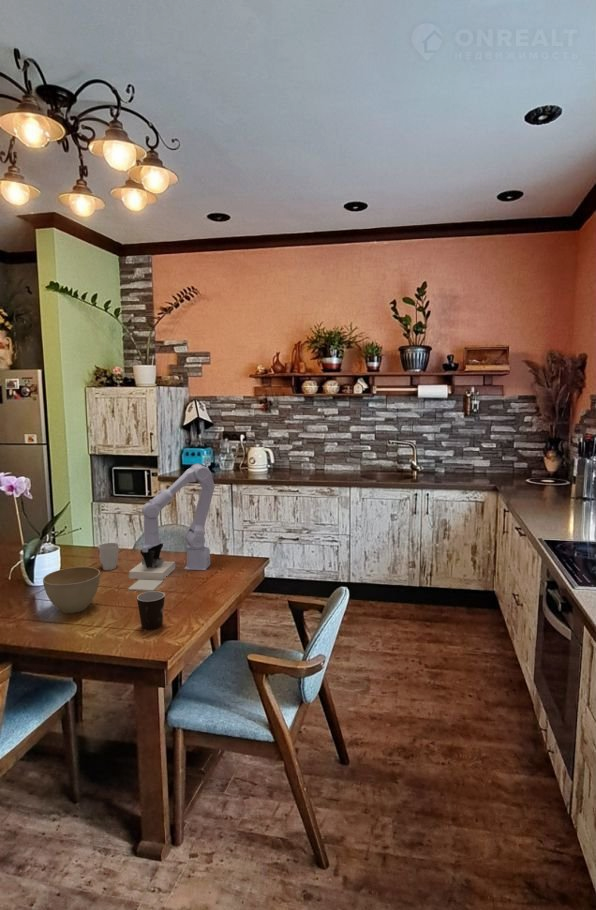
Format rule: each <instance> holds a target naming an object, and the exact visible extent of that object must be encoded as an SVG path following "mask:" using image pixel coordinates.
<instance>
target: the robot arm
mask: <svg viewBox="0 0 596 910" xmlns="http://www.w3.org/2000/svg"><path fill="white" fill-rule="evenodd" d="M195 482H197V483H198V484H199V486H200V487H201V490H200V493H199V497H198V501H197V503H196V504H197V505H196V508H195V512H194V516H193V520H192V523H191V524H190V525H189V528H188V530H187V531H186V532H185V534H184V539H185V542H187V545H186V565H185V567H184V568H183V570H187V571H192V570H193V571H206V570H207V569H208V568H209V567H210V566H211V565H212V564H211V552H210V551H211V549H210V547H207V546H205V542H206V538H205V537H206V536H205V535H206V529H205V526H206V521H207V518H208V514H209V511H210V507H211V502H212V499H213V494H214V491H215V482H214V478H213V473H212V472H211V470H210V469H209V467H207V466H204V465H202V464H200V463H194V464H192V465H191V466H190V467H189V468H188V469H186V470H185V471H184V472H183V473H182V475H180V476H179V477H178V479H176V480H175V481H174V482H173V483H172V484H171V485H170V486H169V487H168V488H167V489H166V488H165V489H162V490H158V492H157V494H155V496H153V498H152V499H149V501H148V502H146V503H144V504H143V506H142V509H141V512H142V514H143V535H144V536H143V538H144V540H143V541H142V542H141V545H143V546H142V549H141V550H140V554H141V556H142V558H144V560H145V564H146V567H152V564H153V557H154V558H160V555H161V552H162V549H163V547H164V544H163V543H162V537H160V532H159V531H160V530H159V515H160V512H161V511H162V510H163V509H164V508H166V506H167V505H168V504H169V503H171V502H172V501H173V499H174V495H175V494H176V493H178V491H180V490H181V489H182V488H183V487H185V486H186V485H187V484H189V483H195Z"/></svg>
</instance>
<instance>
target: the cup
mask: <svg viewBox="0 0 596 910" xmlns="http://www.w3.org/2000/svg"><path fill="white" fill-rule="evenodd" d="M97 547H98V549H97V550H98V556H99V560H100V565H101V568H102V570H103V571H112V569H113V570H115V569H116V568H117V564H118V558H119V543H117V542H106V543H101V544H99V545H98V546H97Z"/></svg>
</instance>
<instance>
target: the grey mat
mask: <svg viewBox="0 0 596 910" xmlns="http://www.w3.org/2000/svg"><path fill="white" fill-rule="evenodd" d="M163 583H164V580H147V579H137V581H136V582H134V583H133V584H132V585H130V587H128V588H127V590H128V591H133V590H136V591H138V592H150V591H156V590H157V589H158V588H159V587H160V586H161V585H162V584H163ZM157 587H158V588H157Z"/></svg>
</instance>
